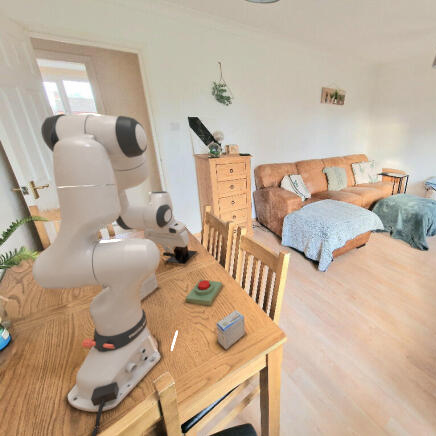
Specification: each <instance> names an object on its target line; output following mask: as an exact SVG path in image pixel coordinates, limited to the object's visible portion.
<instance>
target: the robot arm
mask: <svg viewBox="0 0 436 436" xmlns="http://www.w3.org/2000/svg"><path fill="white" fill-rule="evenodd" d="M40 131H41V132H40V133H41V138H42V139H43V142H44V143H45V145H46V146H47V147H48V149H49V150H51V152H52V153H53V154H52V168H53V178H54V183H55V184H54V185H55V187H56V188H55V189H56V193H57V199H58V206H59V212H60V213H59V214H60V224H59V229H58V232H57V235H56V237H55V238H54V239H53V241H52V243H50V245H49V246H48V247H46V248H45V249H44V250H43V251H41V252H40V253H39V254H38V256H36V258H35V259H34V262H33V264H32V267H31V268H32V269H31V273H32V277H33V279H34V281H35V283H37V285H38V286H40V287H41V288H43V289H45V290H75V289H81V288H87V287H94V286H101V285H108V286H109V287H107V288H105V289H104V290H102V289H101V290H100V291H99V292H98V293H97V294H96V295H94V297H93V298H92V300H91V301H90V304H89V308H88V312H89V315H90V318H91V320H92V324H93V326H94V331H93V338H92V339H91V338H88V337H87V338H85V339H84V340H83V341H82V343H81V346H82V348H88V349H90V350H89V351H88V353H87V355H86V357H85V359H84V360H83V361H82V363H81V365H80V367H79V369H78V371H77V372H76V376H75V384H74V385H73V387H72V388H71V390H70V391H69V392H68V394H67V401H68V403H69V404H70V406H72V407H73V408H75V409H77V410H81V411H84V412H89V413H90V412H91V413H92V412H93V413H95V412H96V413H97V414H96V417H95V423H94V428H93V431H92V434H91V436H96V435H97V434H98V430H99V428H100V422H101V417H102V412H105V411H109V410H112V409H114V408H116V407H117V406H118V405H119V404H120V403H121V402H122V401H123V400H124V399H125V398H126V397H127V396H128V394H129V393H130V392H131V391H132V390H133V389H134V388H135V387H136V386H137V385H138V384H139V382H141V381H142V379H143V378H144V377H145V376H147V374H148V373H149V372H150V371H151V370H152V369H153V368H154V366H156V364H157V363H158V362H159V361H160V360H161V354H160V352H159V350H158V349H159V348H158V347H159V344H158V341H157V339H156V338H155V337H154V336H153V334H152V333H151V331H150V329H149V326H148V320H147V316H146V311H145V310H144V308H143V307H142V302H141V300H140V294H139V292H140V288H141V285H142V284H143V282H144V281H145V280H146V278H148V277H149V276H150V275H151V274H153V273H154V272H155V273H156V271H157V269H158V267H159V265H160V262H161V250H160V248H159V246H157V245H161V248H162V249H163V250H164V252H165V253H174V251H173V247H174V246H178V247H186V246H187V247H188V245H189V244H190V237H189V232H188V230H187V229H186V228H187V225H186V224H185V223H183V222H182V221H179V220H177V219H175V216H174V214H173V210H174V209H173V202H172V199H171V197H170V196H171V195H170V194H169V192H168V191H165V190H153V191H150V192H148V195H147V199H148V204H135V203H134V204H133V203H131V202H129V199H128V196H127V192H126V190H129V189H132V188H136V187H138V186H140V185H142V184H143V183H144V182H146V180H147V179H148V178H149V176H150V172H151V170H150V164H149V161H148V158H147V157H146V153H145V152H146V151H147V148H148V138H147V134H146V131H145V128H144V127H143V125H142V124H141V123H140V122H139V121H138V120H137V119H136V118H133V117H130V116H126V115H119V116H118V115H117V116H116V115H109V114H95V113H74V114H65V113H59V114H54V115H50V116H47V117H46V118H45V119H44V121H43V122H42V124H41V128H40ZM114 222H116V224H117V225H118V226H119V227H120V228H121V229H122V230H125V231H130V230H142V229H143V236H144V237H143V238H141V237H139V238H136V237H128V238H127V237H126V238H117V239H116V238H115V239H107V240H100V238H99V233H100V230H102V229H104V228H106V227H108V226H110V225H111V224H113V223H114ZM177 336H178V330H176V331H175V334H174V338H173V341H172V344H171V349H170V351H171V352H172V351H173V350H174V346H175V343H176V339H177ZM97 426H98V427H97ZM95 427H96V428H95Z"/></svg>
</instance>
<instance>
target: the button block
mask: <svg viewBox="0 0 436 436" xmlns="http://www.w3.org/2000/svg"><path fill="white" fill-rule="evenodd" d="M203 280H204V279H199V280H198V282H196V284H195V285H194V286H193V288H192V289H191V290H190V292H189V293H188V294H187V295H186V297H185V301H186V303H189V304H194V305H195V304H197V305H203V306H211V304H212V303H213V302H214V300H215V298H216V297H217V296H218V294H219V292H220V291H221V289H222V287H223V282H222V281H214V280H207V279H206V280H207V281H209V283H210V287H209V288H208V289H206V290H200V289H199V287H198V283H199V282H201V281H203Z"/></svg>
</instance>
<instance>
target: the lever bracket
mask: <svg viewBox="0 0 436 436" xmlns="http://www.w3.org/2000/svg"><path fill="white" fill-rule="evenodd" d="M197 252H198V251H197V250H189V248H188V245H187V246H186V247H178V246H176V247H175V249H174V251H173V253H174V254H176V256H175V257H170V256H169V258H167V259H166V260H165V263H171V264H179V265H185V264H186V263H188V261H190V259H191V258H192V257H194V255H196V254H197Z"/></svg>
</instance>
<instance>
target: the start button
mask: <svg viewBox="0 0 436 436" xmlns="http://www.w3.org/2000/svg"><path fill="white" fill-rule="evenodd" d="M202 280H203V281H201V282H199V281H198V282H199V283H198V282H197V283H198V287H199V289H200V290H206V289H208V288H209V287H210V283H209V281H210V280H208V281H207V279H202Z"/></svg>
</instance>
